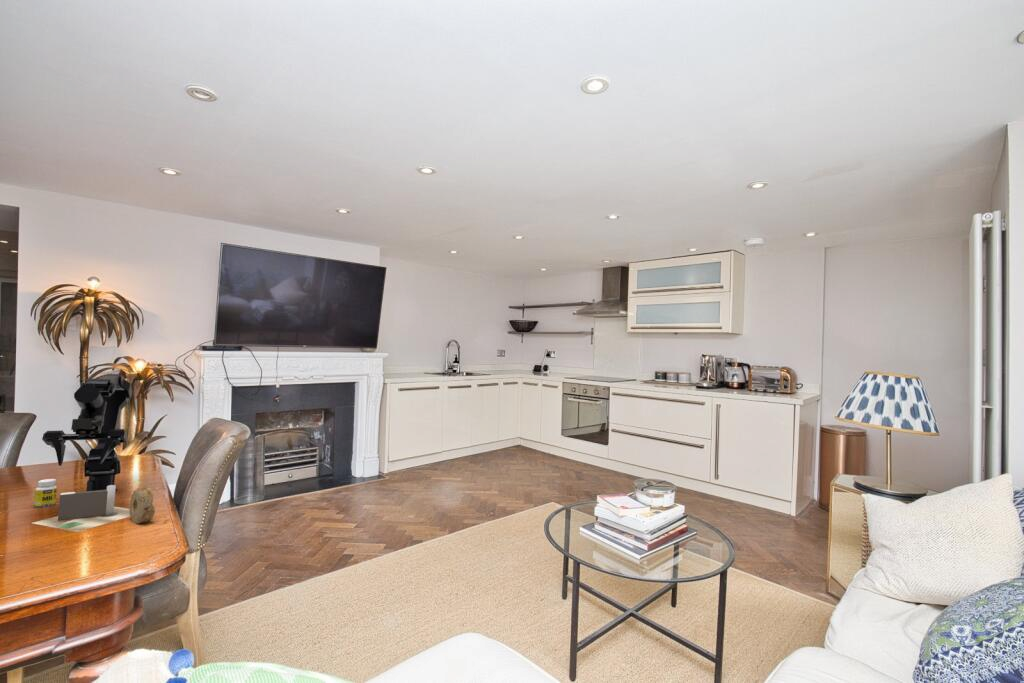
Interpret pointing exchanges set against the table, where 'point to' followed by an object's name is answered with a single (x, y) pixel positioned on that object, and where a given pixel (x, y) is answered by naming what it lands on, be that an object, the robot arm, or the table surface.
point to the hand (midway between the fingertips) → (80, 464)
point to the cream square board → (85, 521)
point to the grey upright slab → (86, 503)
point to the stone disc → (142, 505)
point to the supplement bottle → (45, 493)
